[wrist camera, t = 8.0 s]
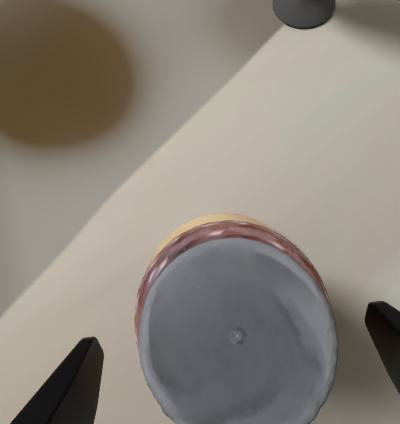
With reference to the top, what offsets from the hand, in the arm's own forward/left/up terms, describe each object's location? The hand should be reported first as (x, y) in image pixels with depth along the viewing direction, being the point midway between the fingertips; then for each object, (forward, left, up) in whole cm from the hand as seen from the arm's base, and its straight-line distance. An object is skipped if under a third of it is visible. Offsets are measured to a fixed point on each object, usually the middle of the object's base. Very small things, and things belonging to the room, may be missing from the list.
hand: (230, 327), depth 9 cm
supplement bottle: (+1, 0, -8) cm, 8 cm away
